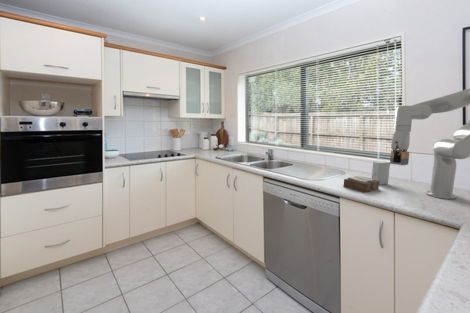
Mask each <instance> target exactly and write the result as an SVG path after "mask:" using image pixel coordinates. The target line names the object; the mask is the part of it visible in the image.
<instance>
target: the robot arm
mask: <svg viewBox="0 0 470 313" xmlns="http://www.w3.org/2000/svg"><path fill="white" fill-rule="evenodd" d="M467 106H470V88H466V89H462V90H460V91H456V92H453V93H450V94H446V95H443V96H439V97H436V98H433V99H429V100H426V101H422V102H419V103H416V104H413V105H399V106H397V107H396V108H395V119H394V126H393V129H394V130H393V134H392V139H391V147H390V149H391V151H393V152H394V154H393V155H394V158H393V162H396V163H400V157H401V156H400V152H401V151H406V152H408V149H409V147H410V141H411V138H410V137H411V136H410V135H411V131H412V122H413V120H416V121H417V120H426V119H428V118H430V116H432V114H440V113H441V114H442V113H447V112H448V113H449V112H452V111H455V110H458V109H461V108H465V107H467ZM398 151H399V152H398ZM469 157H470V120H469V121H468V122H467V123H466V124H464V125H462V126H461V127H460V128H458V129H457V130H456V131H455V132H454V133H453V135H452V139H451V138H449V139H448V138H444V139H439V140H438V141H436V143H435V144H434V145H433V167H432V176H431V181H430V189H429V190H427V191H426V195H428V196H430V197H433V198H438V199H445V200H455V199H456V197H457V196H456V194H453V192H454V185H455V184H454V183H455V178H456V172H457V160H464V159H468V158H469Z"/></svg>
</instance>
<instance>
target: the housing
mask: <svg viewBox="0 0 470 313" xmlns="http://www.w3.org/2000/svg"><path fill="white" fill-rule="evenodd" d="M398 152H399V151H398ZM393 154H394V152H393V150H391V151H390V160H389V161H390V165H398V166H408V165H409V162H410V161H409V160H410V151H407V152H406V151H401V152H400V156H401V157H400V163H396V162H393V158H394V155H393Z"/></svg>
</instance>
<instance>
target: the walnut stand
mask: <svg viewBox="0 0 470 313" xmlns="http://www.w3.org/2000/svg"><path fill="white" fill-rule="evenodd" d="M343 188H346V189H350V190H353V191H354V190H355V191H357V192H361V193H369V192H372V191H377V190H379V188H380V185H379V181H376V179H372V177H371V178H370V177H366V176H361V175H355V176H349V177H347V178H344V179H343Z"/></svg>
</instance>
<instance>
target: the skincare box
mask: <svg viewBox="0 0 470 313" xmlns="http://www.w3.org/2000/svg"><path fill="white" fill-rule="evenodd" d="M390 167H391V164H390V162H389V161H386V160H379V161H378V160H377V161H375V160H374V161H373V162H372V172H371V179H376V181H379V186H381V185H389V176H390Z"/></svg>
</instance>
